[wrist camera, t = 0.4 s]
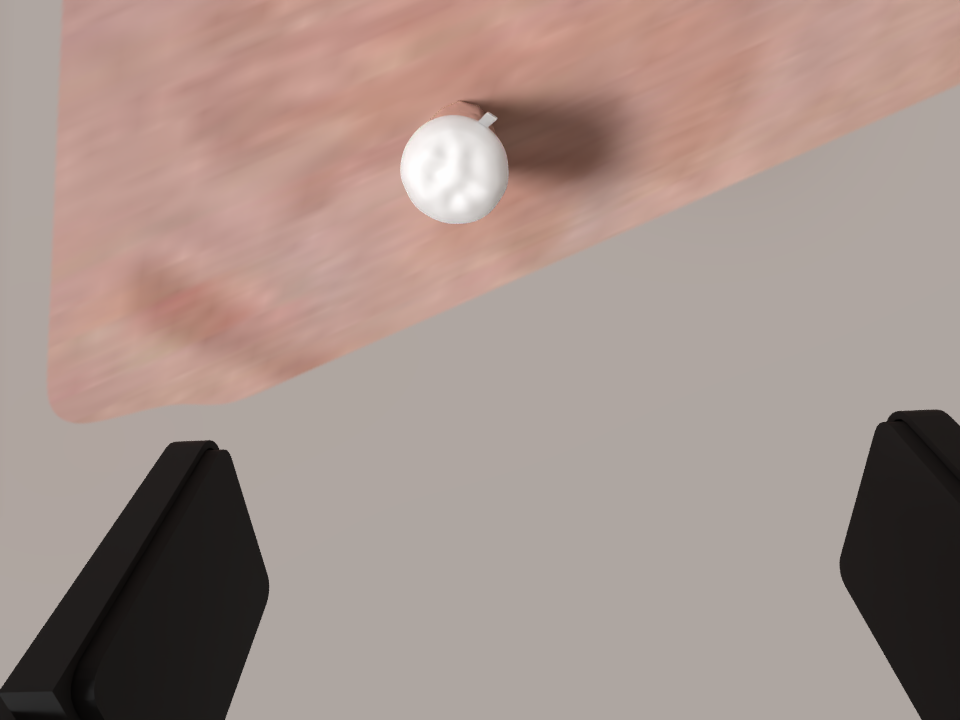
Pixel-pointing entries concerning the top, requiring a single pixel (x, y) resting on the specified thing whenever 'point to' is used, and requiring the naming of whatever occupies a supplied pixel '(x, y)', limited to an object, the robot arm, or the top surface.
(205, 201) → the top surface
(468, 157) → the milkshake
